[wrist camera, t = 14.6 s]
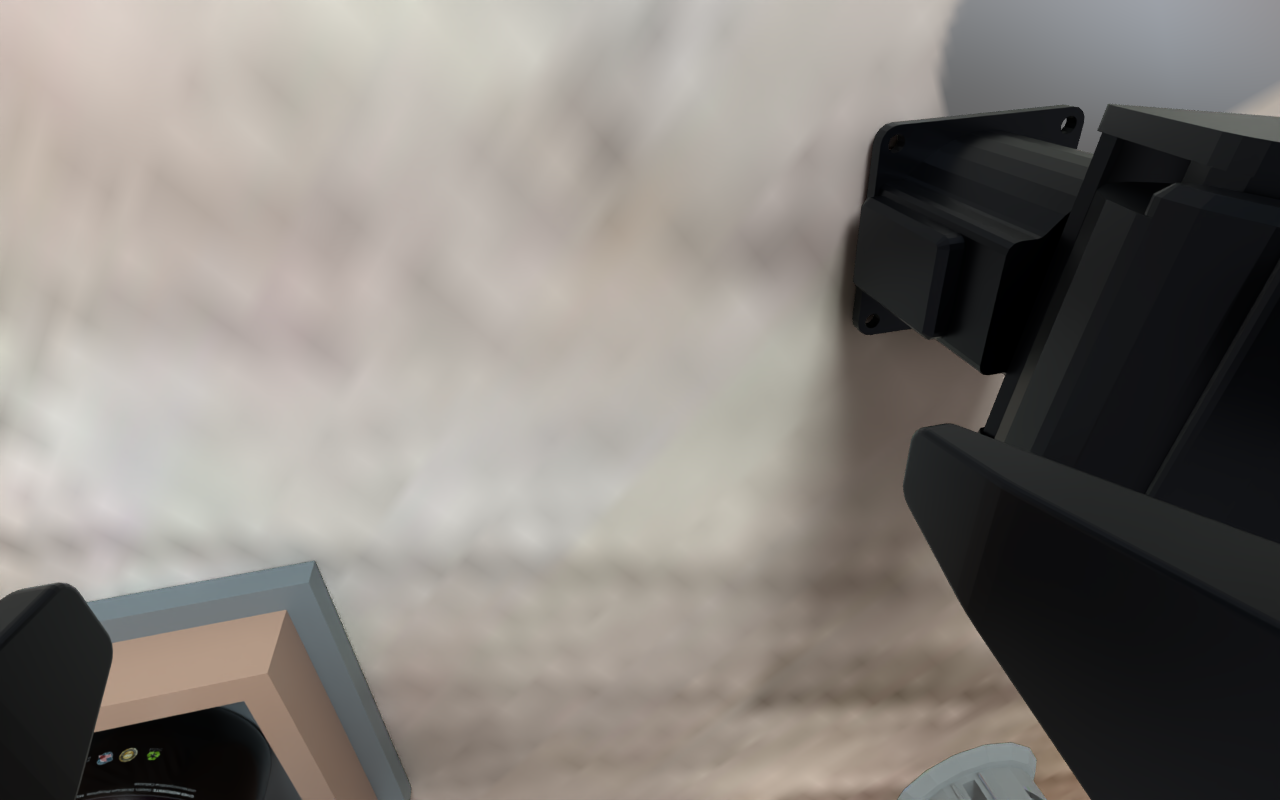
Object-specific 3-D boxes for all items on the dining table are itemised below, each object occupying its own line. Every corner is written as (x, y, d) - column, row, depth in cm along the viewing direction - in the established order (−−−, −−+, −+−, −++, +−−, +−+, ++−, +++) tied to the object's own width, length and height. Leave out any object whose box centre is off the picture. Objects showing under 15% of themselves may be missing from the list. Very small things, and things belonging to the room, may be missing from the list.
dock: (314, 560, 23) (291, 644, 20) (411, 787, 30) (404, 873, 27) (-163, 647, 21) (-266, 755, 18) (66, 868, 28) (18, 970, 25)
